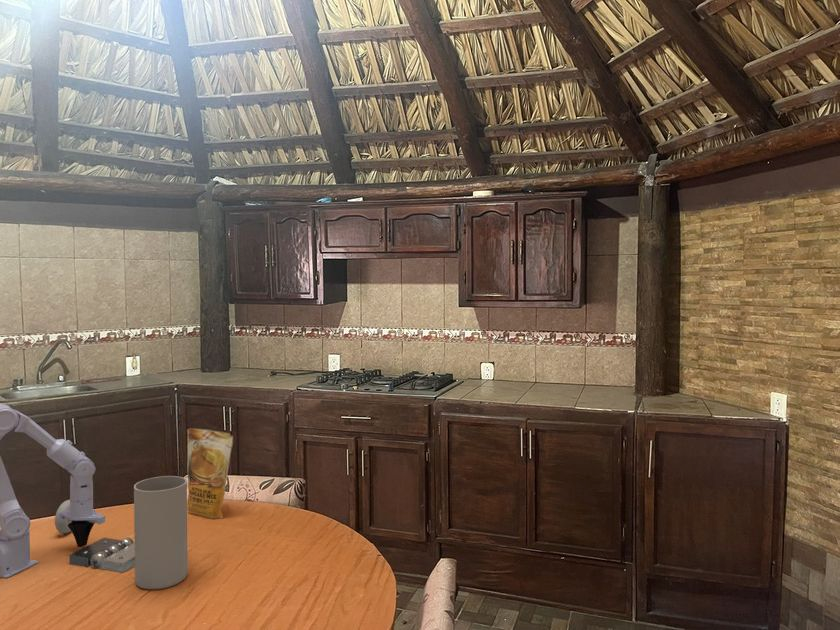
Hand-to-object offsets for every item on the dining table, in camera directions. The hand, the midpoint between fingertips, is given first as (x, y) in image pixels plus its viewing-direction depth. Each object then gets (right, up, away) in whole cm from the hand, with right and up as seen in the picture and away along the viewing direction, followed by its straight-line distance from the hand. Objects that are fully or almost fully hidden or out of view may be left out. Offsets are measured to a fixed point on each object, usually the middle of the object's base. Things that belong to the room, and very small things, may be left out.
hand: (82, 545), depth 172 cm
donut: (-11, -1, +13) cm, 17 cm away
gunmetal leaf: (+8, -2, -4) cm, 9 cm away
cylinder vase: (+30, -2, -17) cm, 34 cm away
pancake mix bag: (+26, -1, +29) cm, 39 cm away
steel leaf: (+15, -2, -6) cm, 16 cm away
